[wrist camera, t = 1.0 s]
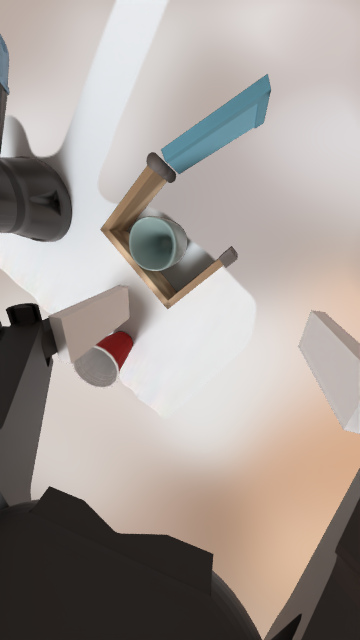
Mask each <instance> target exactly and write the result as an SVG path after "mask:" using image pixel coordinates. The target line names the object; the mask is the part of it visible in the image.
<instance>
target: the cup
mask: <svg viewBox="0 0 360 640" xmlns="http://www.w3.org/2000/svg"><path fill="white" fill-rule="evenodd" d="M129 247H130V252H131V255H132V257H133V259H134V261H135V262H136V263H137V264H138V265H139V266H141V267H142V268H144V269H147V270H150V271H161V270H164V269H167V268H169V267H171V266H173V265H175V264H177V263H178V262H179V261H180V260H181V259H182V258H183V256H184V255H185V252H186V249H187V236H186V233H185V231H184V229H183V228H182V227H181V226H180V225H179V224H177V223H176V222H174V221H172V220H169V219H165V218H161V217H157V216H148V217H143V218H141V219H139V220H138V221H137V222H135V224H134V225H133V227H132V229H131V232H130V236H129Z"/></svg>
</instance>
